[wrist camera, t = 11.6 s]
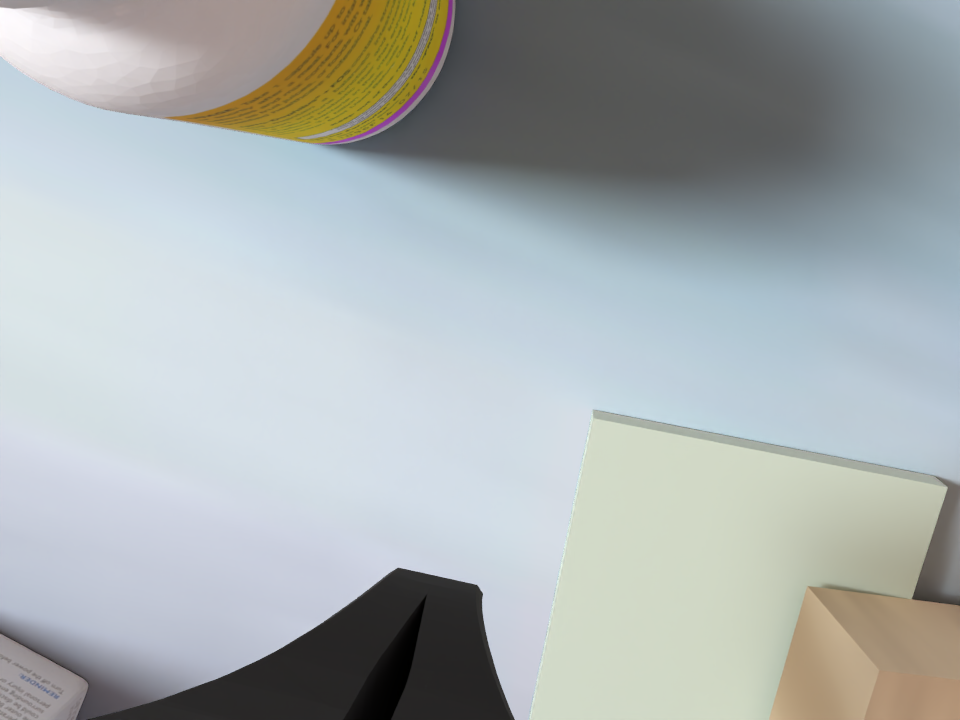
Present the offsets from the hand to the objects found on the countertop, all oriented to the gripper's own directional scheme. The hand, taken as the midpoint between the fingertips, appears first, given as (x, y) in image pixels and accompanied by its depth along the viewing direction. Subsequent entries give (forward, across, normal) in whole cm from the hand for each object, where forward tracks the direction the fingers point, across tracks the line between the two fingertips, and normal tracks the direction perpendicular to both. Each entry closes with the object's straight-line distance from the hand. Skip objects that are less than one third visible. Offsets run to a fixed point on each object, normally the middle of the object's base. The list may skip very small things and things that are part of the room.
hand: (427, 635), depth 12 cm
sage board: (+10, -7, +6) cm, 14 cm away
